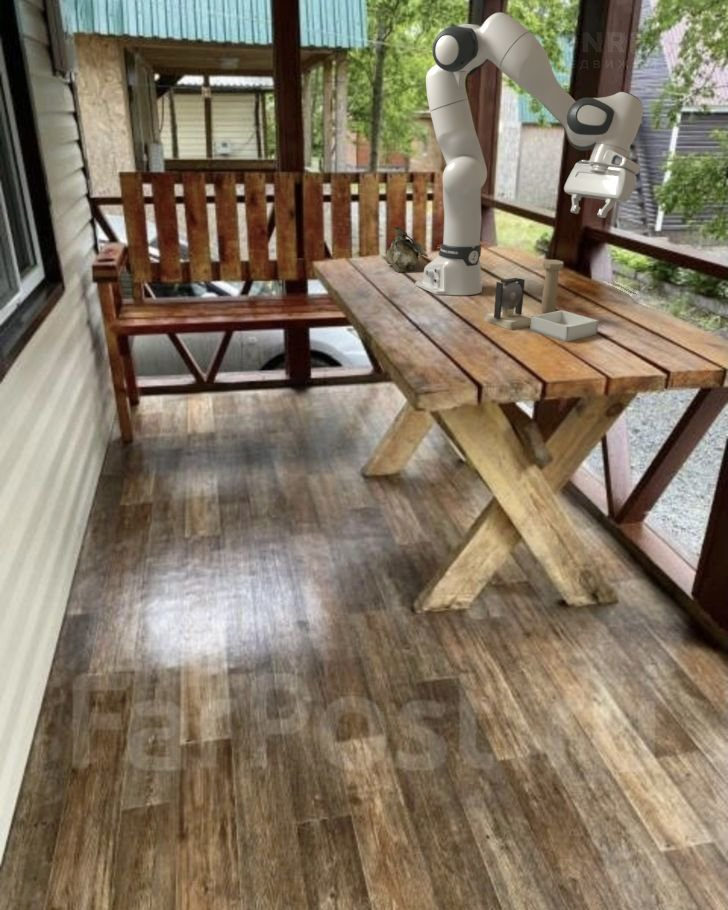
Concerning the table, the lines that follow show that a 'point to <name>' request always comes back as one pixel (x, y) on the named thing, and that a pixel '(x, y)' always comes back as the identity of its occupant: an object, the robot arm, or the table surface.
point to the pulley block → (509, 305)
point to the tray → (564, 325)
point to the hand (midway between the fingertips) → (587, 214)
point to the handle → (550, 285)
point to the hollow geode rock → (404, 252)
